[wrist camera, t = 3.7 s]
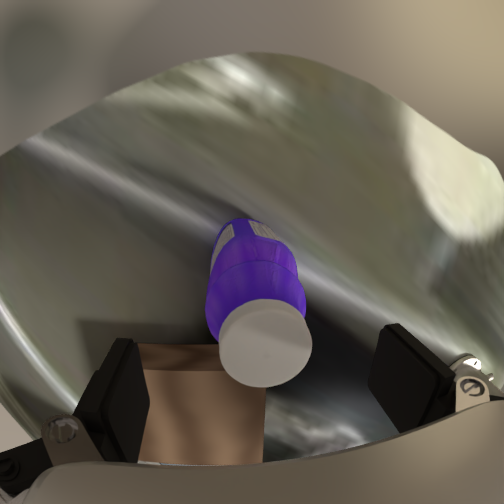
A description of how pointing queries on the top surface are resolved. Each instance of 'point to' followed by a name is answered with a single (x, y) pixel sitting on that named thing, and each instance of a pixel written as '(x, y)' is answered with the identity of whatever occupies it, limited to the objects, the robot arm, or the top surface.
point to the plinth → (199, 409)
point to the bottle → (256, 305)
